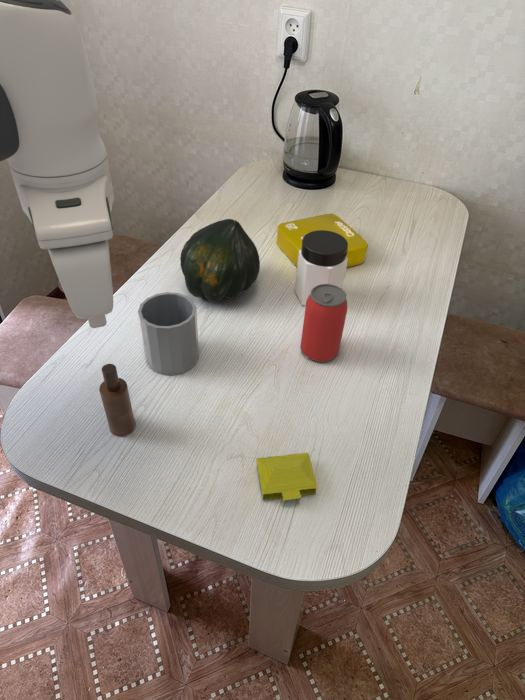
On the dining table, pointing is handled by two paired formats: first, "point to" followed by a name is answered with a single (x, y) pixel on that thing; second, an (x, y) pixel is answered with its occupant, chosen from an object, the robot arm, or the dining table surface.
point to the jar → (320, 262)
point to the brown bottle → (116, 402)
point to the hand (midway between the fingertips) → (92, 298)
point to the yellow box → (296, 230)
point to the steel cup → (169, 332)
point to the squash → (220, 261)
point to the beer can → (324, 322)
